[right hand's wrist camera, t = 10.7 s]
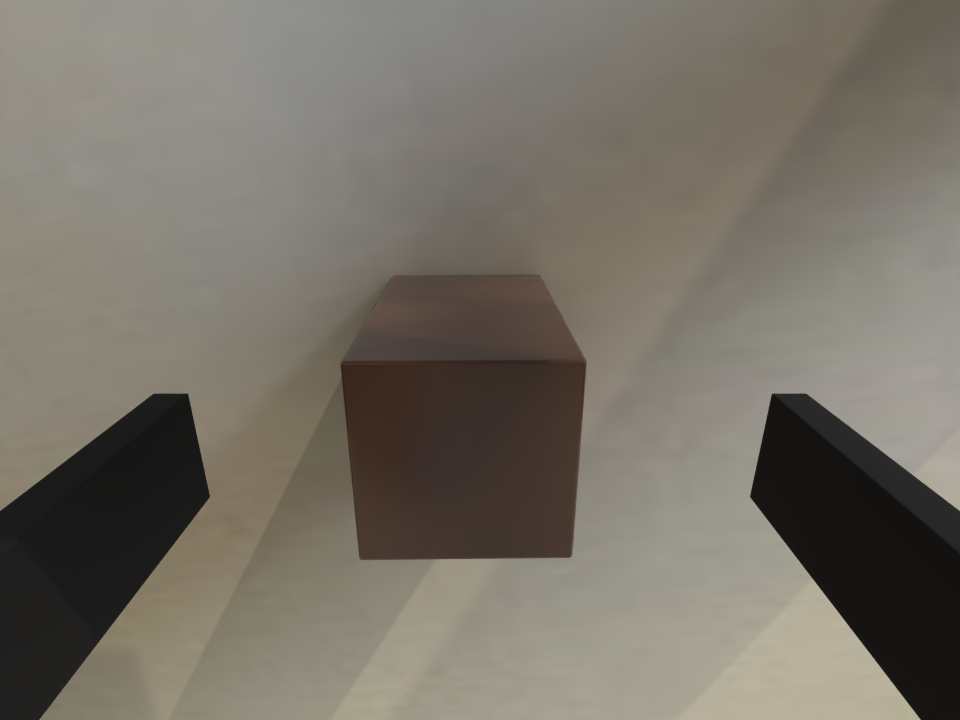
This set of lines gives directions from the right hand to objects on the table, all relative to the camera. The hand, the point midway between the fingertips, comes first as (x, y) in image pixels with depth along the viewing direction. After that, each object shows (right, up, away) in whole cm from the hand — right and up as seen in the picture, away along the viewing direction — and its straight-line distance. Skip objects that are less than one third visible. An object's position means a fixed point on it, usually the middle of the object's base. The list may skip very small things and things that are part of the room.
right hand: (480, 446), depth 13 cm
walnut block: (0, +2, +7) cm, 7 cm away
